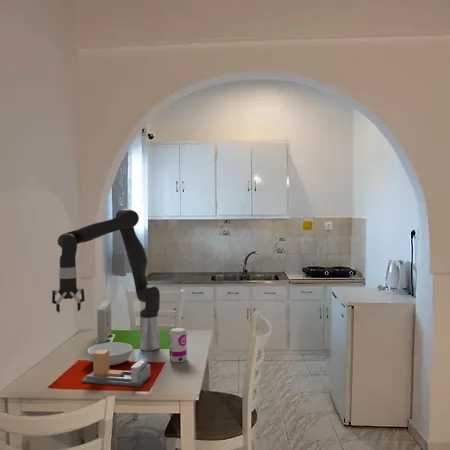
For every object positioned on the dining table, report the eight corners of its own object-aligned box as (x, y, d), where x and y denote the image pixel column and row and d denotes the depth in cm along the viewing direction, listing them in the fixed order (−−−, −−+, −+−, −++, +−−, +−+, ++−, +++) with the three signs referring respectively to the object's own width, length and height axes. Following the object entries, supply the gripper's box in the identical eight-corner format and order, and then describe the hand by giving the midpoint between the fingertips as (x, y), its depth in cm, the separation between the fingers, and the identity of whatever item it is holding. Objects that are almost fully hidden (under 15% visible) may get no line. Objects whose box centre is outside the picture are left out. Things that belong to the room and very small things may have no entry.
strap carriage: (93, 376, 193) (93, 353, 192) (99, 372, 198) (98, 349, 197) (119, 378, 190) (119, 354, 190) (124, 373, 195) (124, 351, 195)
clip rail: (81, 382, 190) (81, 364, 190) (95, 372, 202) (95, 355, 202) (140, 386, 185) (139, 368, 185) (150, 375, 197) (150, 358, 197)
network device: (101, 333, 266) (100, 300, 265) (116, 333, 267) (115, 299, 266) (93, 346, 241) (92, 309, 240) (110, 346, 242) (109, 309, 241)
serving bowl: (87, 372, 202) (86, 357, 202) (88, 357, 222) (88, 344, 222) (134, 367, 208) (133, 353, 208) (131, 354, 228) (131, 340, 228)
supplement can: (190, 360, 218) (190, 329, 217) (177, 364, 211) (177, 332, 211) (179, 356, 223) (178, 326, 223) (166, 360, 217) (165, 329, 217)
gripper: (51, 278, 203) (51, 314, 203) (84, 277, 207) (84, 312, 207) (52, 276, 210) (52, 311, 210) (84, 274, 214) (84, 308, 214)
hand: (68, 311), depth 209 cm, fingers open, 8 cm apart
